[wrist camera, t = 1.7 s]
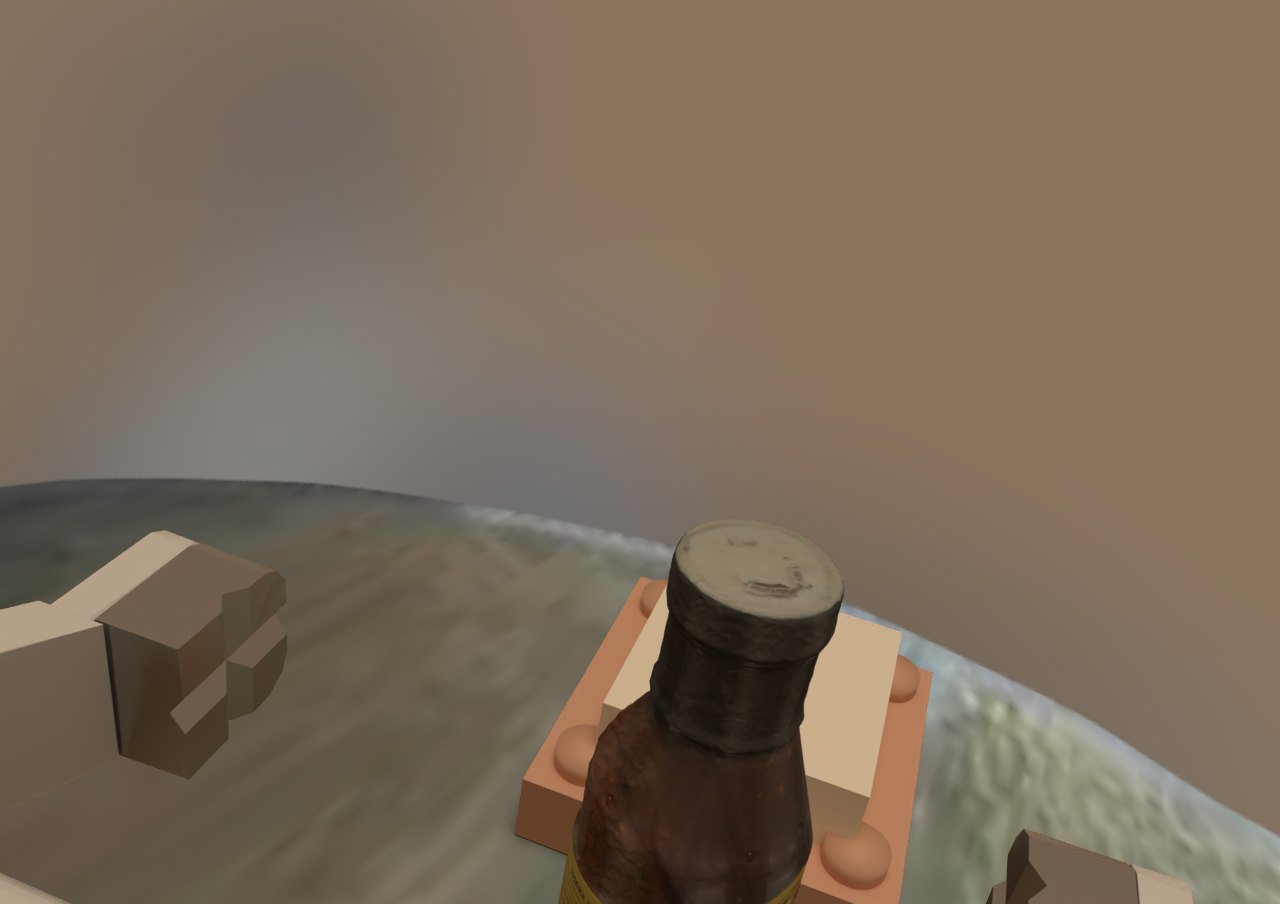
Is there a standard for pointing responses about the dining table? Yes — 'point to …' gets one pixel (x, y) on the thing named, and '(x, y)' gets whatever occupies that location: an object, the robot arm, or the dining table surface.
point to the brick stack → (830, 737)
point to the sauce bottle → (713, 732)
